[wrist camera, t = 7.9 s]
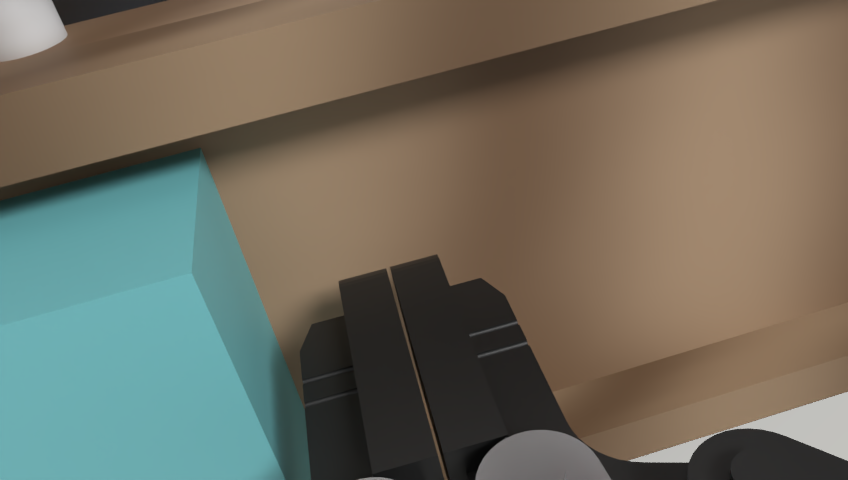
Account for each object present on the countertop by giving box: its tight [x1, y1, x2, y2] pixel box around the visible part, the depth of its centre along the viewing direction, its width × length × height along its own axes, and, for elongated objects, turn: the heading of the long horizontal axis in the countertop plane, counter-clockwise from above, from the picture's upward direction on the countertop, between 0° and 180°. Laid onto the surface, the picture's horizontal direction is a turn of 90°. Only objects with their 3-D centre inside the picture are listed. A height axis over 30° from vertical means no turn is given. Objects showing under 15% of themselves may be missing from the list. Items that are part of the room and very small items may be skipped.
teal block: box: [0, 148, 311, 480], centre depth 10 cm, size 7×6×3 cm
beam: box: [0, 0, 848, 480], centre depth 11 cm, size 28×12×2 cm, turn 101°
